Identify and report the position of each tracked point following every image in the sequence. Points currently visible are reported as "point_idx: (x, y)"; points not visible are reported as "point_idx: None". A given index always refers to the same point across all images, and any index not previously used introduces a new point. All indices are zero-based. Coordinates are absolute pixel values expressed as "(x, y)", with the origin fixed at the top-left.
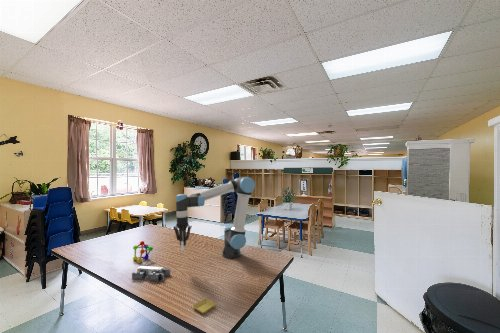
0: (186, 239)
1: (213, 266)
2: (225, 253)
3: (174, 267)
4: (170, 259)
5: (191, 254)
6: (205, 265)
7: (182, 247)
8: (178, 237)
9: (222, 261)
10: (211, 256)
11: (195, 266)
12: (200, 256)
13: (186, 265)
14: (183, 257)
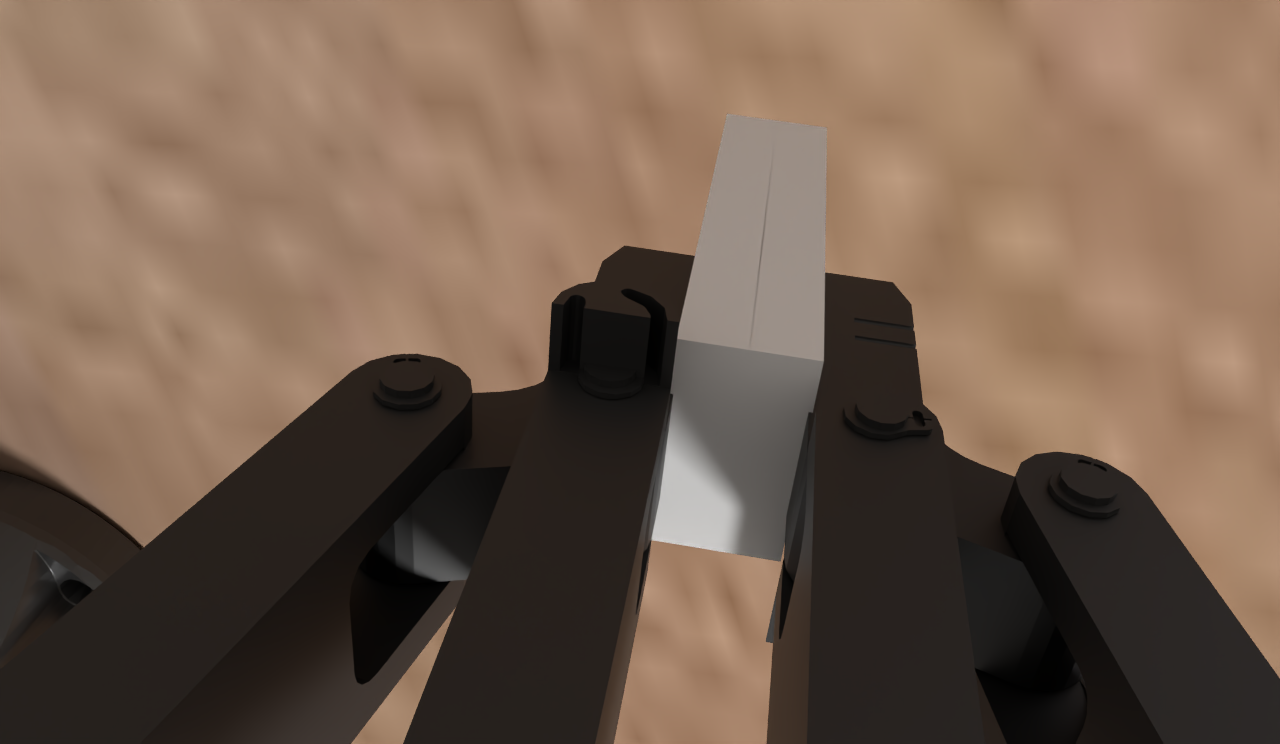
0: (394, 379)
1: (126, 127)
2: (27, 565)
3: (1083, 109)
4: (1265, 552)
5: None
6: (324, 187)
7: (761, 183)
8: (1063, 617)
9: (57, 355)
10: None
11: (538, 145)
12: None
13: None
14: None
